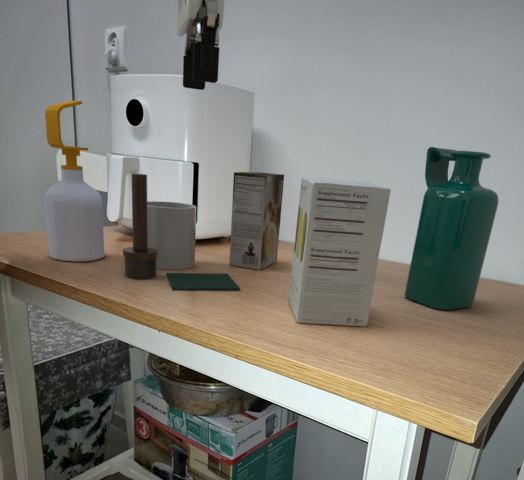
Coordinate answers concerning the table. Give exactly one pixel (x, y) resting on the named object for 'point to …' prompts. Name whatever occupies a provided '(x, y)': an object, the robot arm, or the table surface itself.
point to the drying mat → (201, 281)
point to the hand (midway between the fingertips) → (199, 85)
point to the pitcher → (451, 231)
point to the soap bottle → (71, 202)
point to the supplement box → (336, 250)
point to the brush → (140, 235)
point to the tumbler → (172, 233)
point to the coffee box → (255, 219)
